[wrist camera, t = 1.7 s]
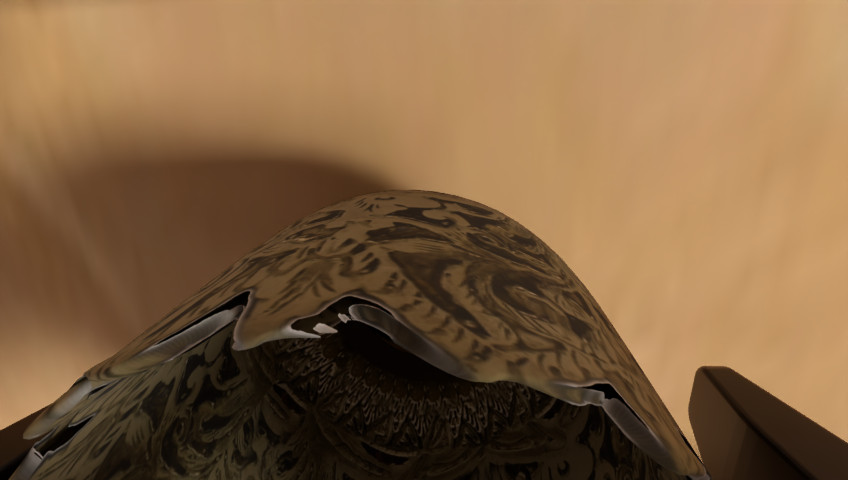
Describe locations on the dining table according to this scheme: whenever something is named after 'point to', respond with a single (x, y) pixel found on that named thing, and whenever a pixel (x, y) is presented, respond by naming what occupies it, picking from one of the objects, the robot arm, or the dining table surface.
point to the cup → (373, 365)
